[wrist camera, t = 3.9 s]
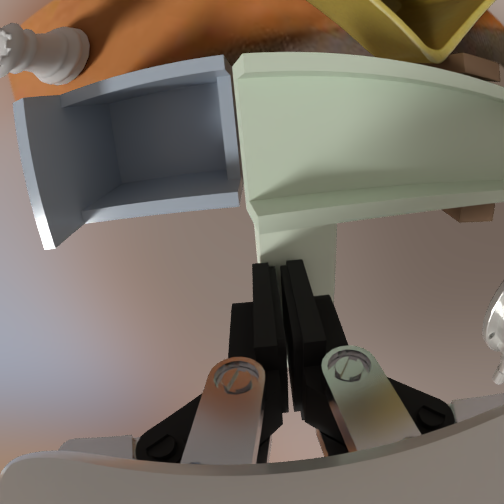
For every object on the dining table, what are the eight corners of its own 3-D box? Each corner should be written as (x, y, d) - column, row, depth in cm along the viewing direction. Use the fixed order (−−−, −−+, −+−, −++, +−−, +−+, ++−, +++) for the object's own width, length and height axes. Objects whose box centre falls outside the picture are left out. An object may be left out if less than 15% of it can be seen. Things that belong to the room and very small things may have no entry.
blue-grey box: (244, 176, 20) (234, 231, 12) (118, 192, 21) (44, 249, 12) (234, 70, 17) (213, 40, 9) (103, 96, 17) (12, 103, 9)
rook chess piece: (58, 97, 17) (-18, 106, 10) (37, 56, 16) (-37, 54, 8) (102, 58, 16) (31, 45, 9) (78, 17, 15) (9, -4, 7)
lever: (526, 276, 15) (550, 294, 13) (261, 358, 13) (275, 404, 11) (550, 112, 10) (582, 121, 8) (232, 66, 8) (245, 50, 6)
